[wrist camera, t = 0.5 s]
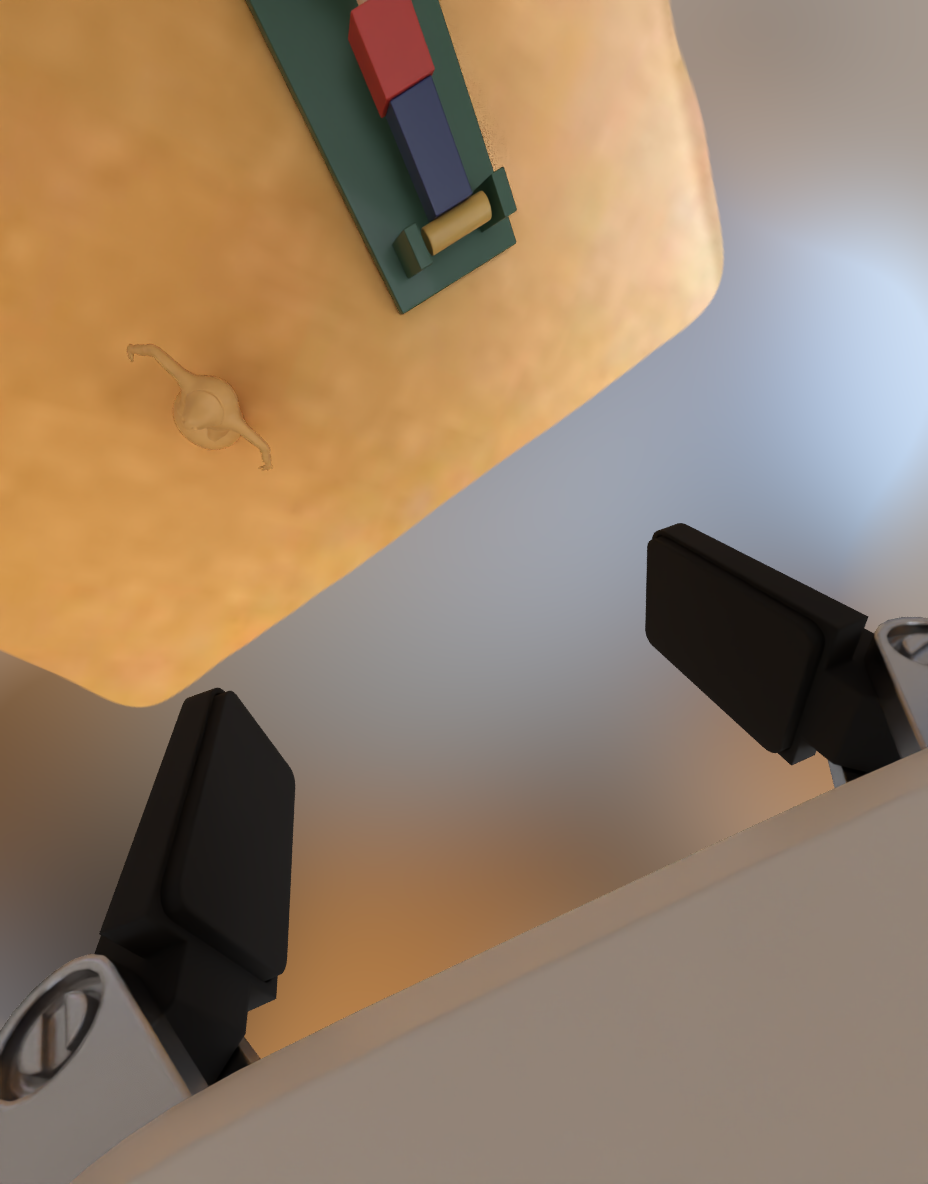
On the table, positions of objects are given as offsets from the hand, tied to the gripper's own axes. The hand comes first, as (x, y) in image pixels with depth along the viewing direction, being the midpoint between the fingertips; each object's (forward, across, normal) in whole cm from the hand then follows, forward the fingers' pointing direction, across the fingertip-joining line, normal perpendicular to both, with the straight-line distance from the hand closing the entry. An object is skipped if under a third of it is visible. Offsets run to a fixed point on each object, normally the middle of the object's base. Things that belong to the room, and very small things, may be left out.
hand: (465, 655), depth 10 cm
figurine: (+28, +8, -4) cm, 30 cm away
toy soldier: (+25, -7, -16) cm, 31 cm away
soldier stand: (+28, -7, -16) cm, 33 cm away
